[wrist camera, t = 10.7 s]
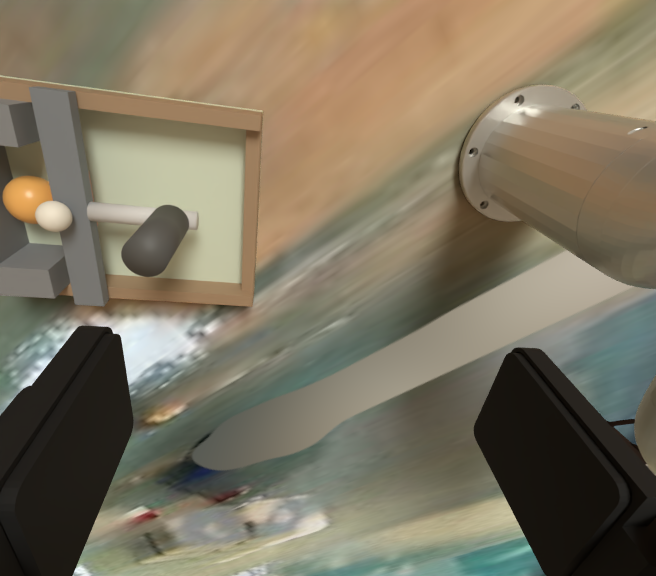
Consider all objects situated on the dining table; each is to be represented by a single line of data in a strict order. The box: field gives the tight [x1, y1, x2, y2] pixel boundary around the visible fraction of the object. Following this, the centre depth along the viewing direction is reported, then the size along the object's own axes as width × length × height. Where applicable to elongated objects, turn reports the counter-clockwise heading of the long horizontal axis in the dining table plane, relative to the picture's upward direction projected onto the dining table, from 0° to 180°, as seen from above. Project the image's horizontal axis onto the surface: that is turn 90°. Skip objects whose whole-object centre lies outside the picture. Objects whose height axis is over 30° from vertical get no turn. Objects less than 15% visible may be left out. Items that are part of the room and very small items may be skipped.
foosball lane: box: [0, 76, 263, 307], centre depth 34 cm, size 22×18×6 cm
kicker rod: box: [29, 86, 199, 306], centre depth 31 cm, size 12×18×11 cm, turn 172°
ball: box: [3, 176, 53, 224], centre depth 33 cm, size 4×4×4 cm
